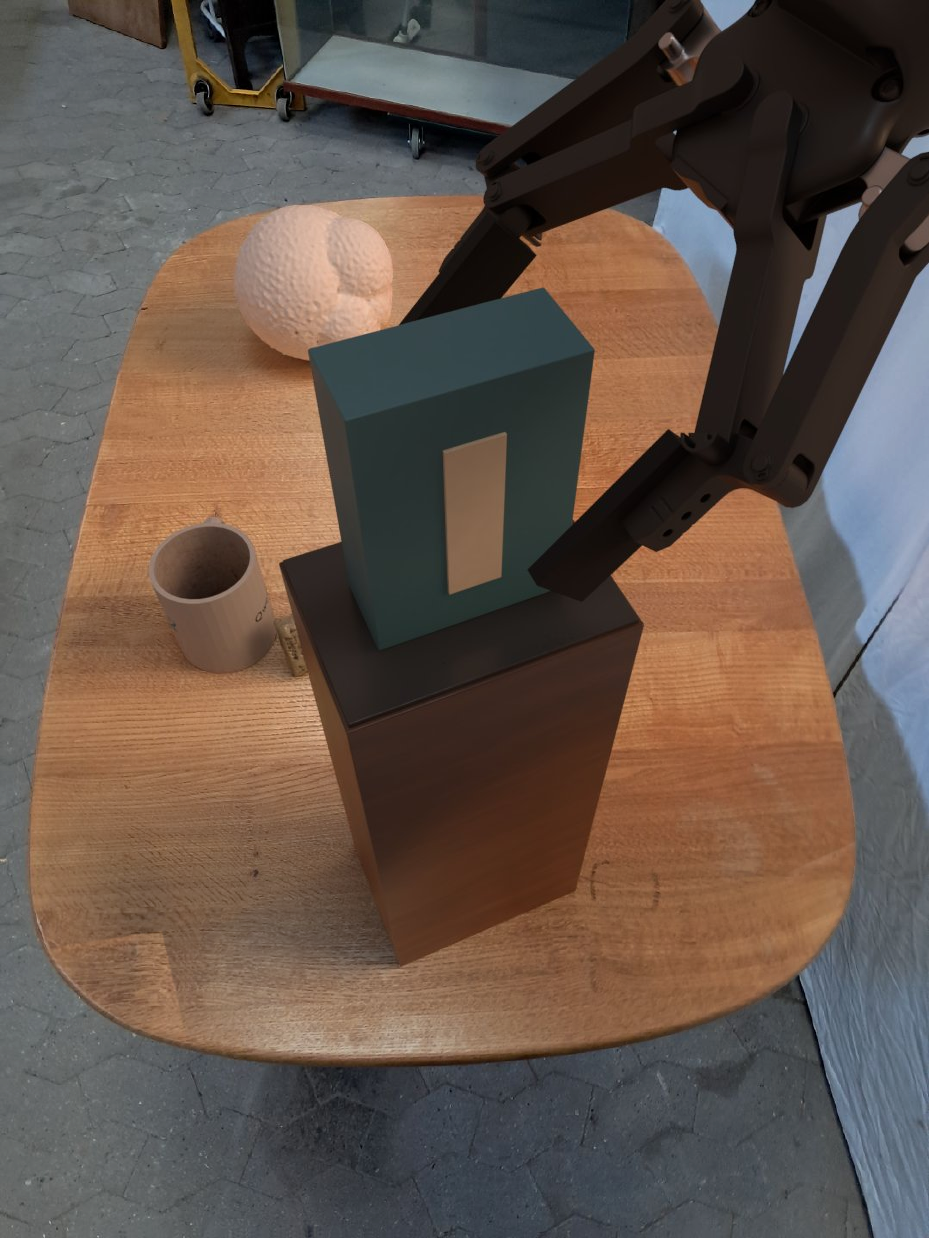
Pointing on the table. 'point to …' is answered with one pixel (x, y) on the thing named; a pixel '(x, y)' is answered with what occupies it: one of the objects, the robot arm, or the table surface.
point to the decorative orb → (312, 279)
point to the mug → (214, 596)
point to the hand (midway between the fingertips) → (475, 461)
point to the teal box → (453, 457)
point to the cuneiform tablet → (290, 644)
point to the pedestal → (465, 747)
